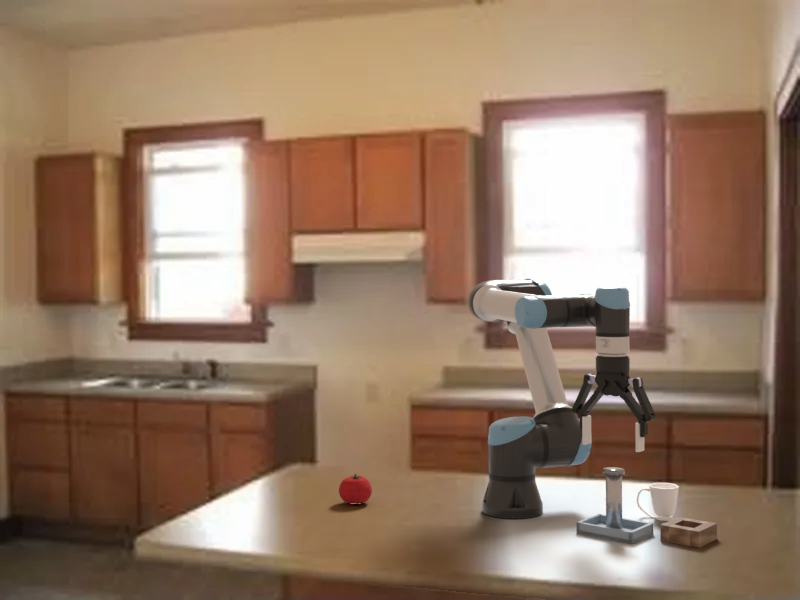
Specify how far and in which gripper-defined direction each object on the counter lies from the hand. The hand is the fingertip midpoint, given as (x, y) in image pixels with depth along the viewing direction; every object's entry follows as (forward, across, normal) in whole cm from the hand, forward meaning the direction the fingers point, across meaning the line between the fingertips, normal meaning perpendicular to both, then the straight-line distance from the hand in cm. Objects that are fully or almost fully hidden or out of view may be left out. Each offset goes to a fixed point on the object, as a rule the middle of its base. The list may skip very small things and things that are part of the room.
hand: (612, 447), depth 211 cm
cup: (+20, +2, +19) cm, 27 cm away
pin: (+19, +1, 0) cm, 19 cm away
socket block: (+20, +16, +6) cm, 26 cm away
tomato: (+21, -66, -17) cm, 72 cm away
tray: (+20, +1, 0) cm, 20 cm away
